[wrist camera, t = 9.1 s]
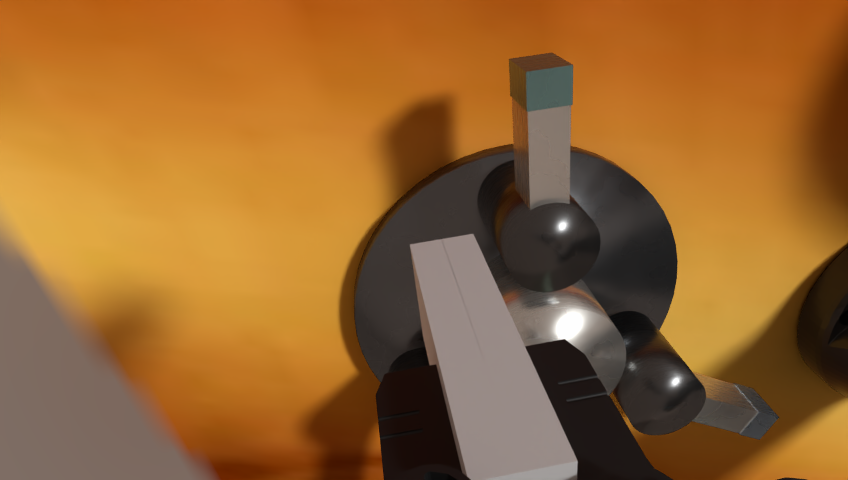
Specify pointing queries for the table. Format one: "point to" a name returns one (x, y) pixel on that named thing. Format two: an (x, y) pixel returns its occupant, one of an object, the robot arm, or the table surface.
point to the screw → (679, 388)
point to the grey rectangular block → (539, 183)
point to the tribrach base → (458, 215)
